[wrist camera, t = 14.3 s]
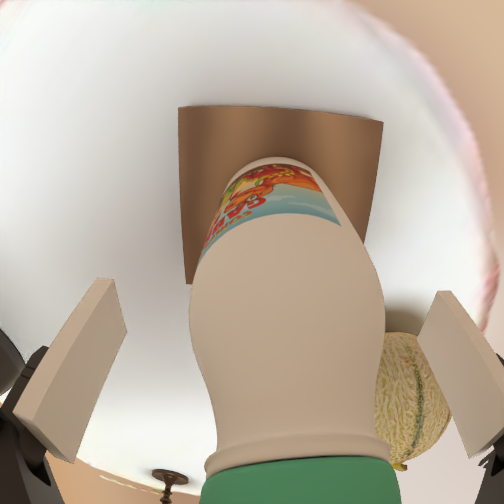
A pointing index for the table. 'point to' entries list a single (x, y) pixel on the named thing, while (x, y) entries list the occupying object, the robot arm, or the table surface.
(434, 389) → the cantaloupe
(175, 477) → the candlestick
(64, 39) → the table surface
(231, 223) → the milk bottle
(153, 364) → the table surface
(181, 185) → the block
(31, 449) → the robot arm
